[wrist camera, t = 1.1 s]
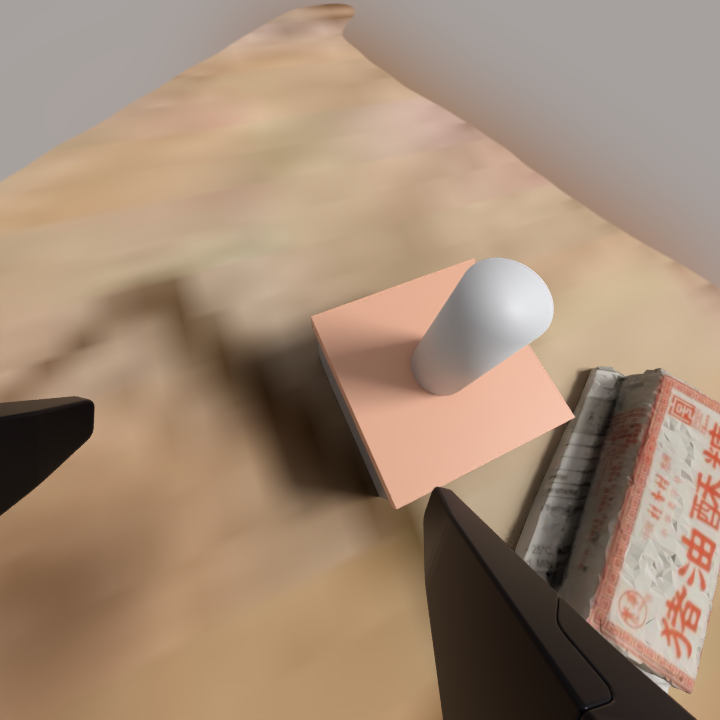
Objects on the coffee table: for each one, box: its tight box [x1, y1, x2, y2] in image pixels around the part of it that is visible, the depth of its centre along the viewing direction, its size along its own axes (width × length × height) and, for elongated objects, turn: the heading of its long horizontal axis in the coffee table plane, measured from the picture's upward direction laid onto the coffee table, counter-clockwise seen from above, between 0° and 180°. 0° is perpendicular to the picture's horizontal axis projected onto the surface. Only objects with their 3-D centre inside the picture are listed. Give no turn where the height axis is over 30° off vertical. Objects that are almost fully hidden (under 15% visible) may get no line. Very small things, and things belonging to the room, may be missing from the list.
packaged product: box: [514, 366, 720, 694], centre depth 20 cm, size 18×5×10 cm
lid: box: [311, 258, 575, 509], centre depth 15 cm, size 10×10×9 cm
